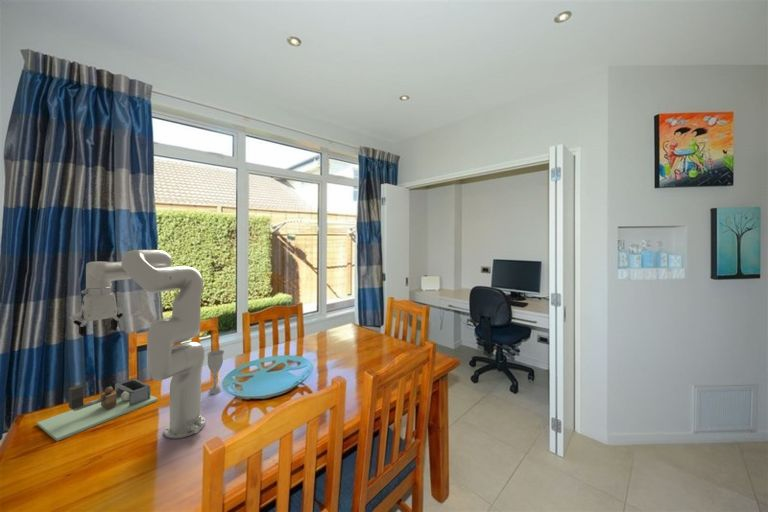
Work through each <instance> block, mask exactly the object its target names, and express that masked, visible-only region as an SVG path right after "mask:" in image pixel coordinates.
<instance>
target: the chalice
mask: <svg viewBox="0 0 768 512" xmlns="http://www.w3.org/2000/svg"><path fill="white" fill-rule="evenodd" d="M224 353H225V351H224V350H222V349H215V350H211V351H209V352H207V353H206V356H207V367H208V369H209V370H210V372H211V374H213V380H212V382H213V385H212V386H211V387H210V389H209V391H208V394H209V395H216V393H217V394H219V393H220V392H221V391H222V389H221V385H218V384H217V382H218V380H217V378H218V376H217V374H218V373H219V371H220V370H221V369H222V366H223V363H224Z"/></svg>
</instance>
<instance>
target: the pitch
mask: <svg viewBox="0 0 768 512" xmlns="http://www.w3.org/2000/svg"><path fill="white" fill-rule="evenodd" d="M158 399H159V398H157V397H156V396H153V395H152V394H150V399H148V400H145V401H142V402H140V403H137V404H135V405H132V406H129V400H127V401H124V400H122V399H121V397H118V398H116V406H114V407H112V408H109V409H106V408H104V407H102V406H101V402H100V403H97V404H94V405H91V406H88V407H86V408H83V409H80V410H77V411H73V409H70V410H68V411H65V412H62V413H60V414H57V415H54V416H51V417H49V418H45V419H42V420H40V421H37V422H36V423H37V424H36V426H38V427H39V428H40V429H41V430H43V431H44V432H45V433H46V434H48V435H49V436H50V437H51V438H52V439H54V441H56V442H58V441H60V440H63V439H66V438H69V437H71V436H74V435H76V434H79V433H81V432H83V431H85V430H88V429H90V428H93V427H95V426H99V425H100V424H103V423H105V422H108V421H111V420H113V419H116V418H118V417H120V416H123V415H126V414H127V413H130V412H132V411H135V410H138V409H140V408H143V407H146V406H148V405H150V404H152V403H154V402H158Z"/></svg>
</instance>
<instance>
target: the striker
mask: <svg viewBox="0 0 768 512" xmlns="http://www.w3.org/2000/svg"><path fill="white" fill-rule="evenodd" d="M100 402H101V406H102V407H104V408H106V409H109V408H112V407H114V406H116V393H115V391H114V388H113V387H112V386H107V387H105V388H104V391H103V392H101V393H100V397H99V398H97V399H93V400H91V401H88V402H85V403H84V386H83V385H81V384H78V385H75V386H72V387H69V388H68V408H70V410H73V411H77V410H80V409H83V408H86V407H88V406H91V405H94V404H97V403H100Z"/></svg>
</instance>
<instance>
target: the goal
mask: <svg viewBox="0 0 768 512" xmlns="http://www.w3.org/2000/svg"><path fill="white" fill-rule="evenodd" d="M125 391H126V392H127V393H129V406H132V405H135V404H137V403H140V402H142V401H145V400H148V399H150V395H151V384H147V383H145V382H143V381H141V380H139V379H136V378H132V379H129V380H126V381H123V382H120V383H119V382H116V383H115V384H114V393H116V398H118V397H121V395H122V393H123V392H125Z"/></svg>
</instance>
